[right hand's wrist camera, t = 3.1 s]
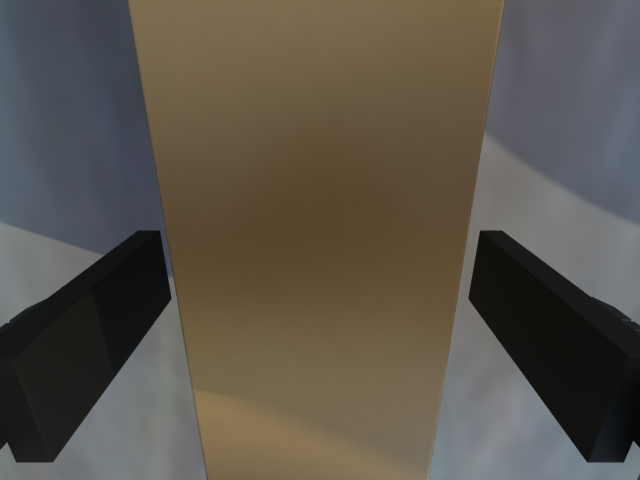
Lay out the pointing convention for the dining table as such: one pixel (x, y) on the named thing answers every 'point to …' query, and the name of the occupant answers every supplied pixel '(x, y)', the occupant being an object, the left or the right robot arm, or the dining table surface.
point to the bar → (316, 219)
